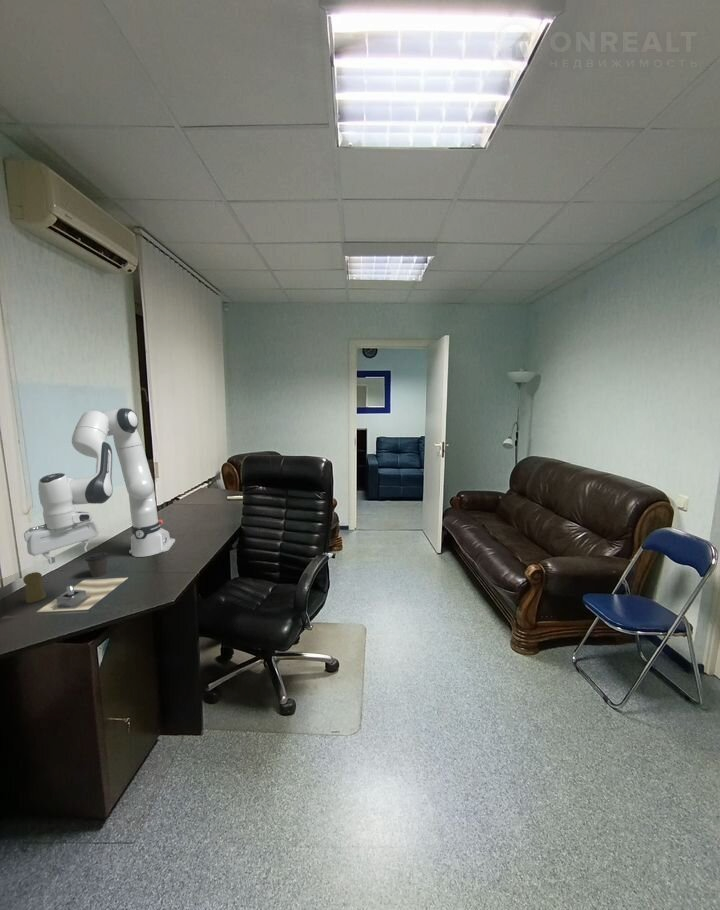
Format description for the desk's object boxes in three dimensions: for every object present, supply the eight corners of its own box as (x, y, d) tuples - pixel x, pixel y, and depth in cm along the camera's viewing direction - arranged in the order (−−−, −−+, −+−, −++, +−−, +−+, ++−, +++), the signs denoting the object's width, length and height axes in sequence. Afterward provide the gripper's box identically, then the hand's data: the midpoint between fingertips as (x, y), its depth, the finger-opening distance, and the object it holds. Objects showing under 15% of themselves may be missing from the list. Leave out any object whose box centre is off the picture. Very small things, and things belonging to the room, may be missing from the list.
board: (84, 582, 154) (84, 579, 154) (128, 580, 155) (128, 577, 155) (36, 615, 131) (35, 612, 130) (88, 612, 131) (88, 609, 131)
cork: (25, 601, 140) (20, 574, 139) (46, 595, 145) (41, 568, 143) (26, 607, 136) (21, 579, 135) (48, 601, 140) (43, 573, 139)
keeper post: (69, 598, 139) (66, 581, 139) (91, 596, 140) (88, 580, 139) (52, 609, 132) (49, 592, 131) (75, 608, 132) (72, 591, 131)
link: (73, 597, 139) (72, 589, 139) (86, 598, 138) (85, 590, 137) (57, 606, 133) (56, 598, 133) (71, 607, 132) (70, 599, 132)
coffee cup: (114, 574, 160) (111, 552, 159) (93, 582, 154) (89, 559, 152) (106, 570, 165) (102, 549, 163) (84, 578, 158) (81, 555, 157)
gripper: (26, 531, 121) (34, 571, 123) (97, 512, 138) (103, 548, 140) (19, 528, 124) (28, 567, 126) (89, 510, 141) (96, 545, 143)
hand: (68, 557), depth 133 cm, fingers open, 8 cm apart
